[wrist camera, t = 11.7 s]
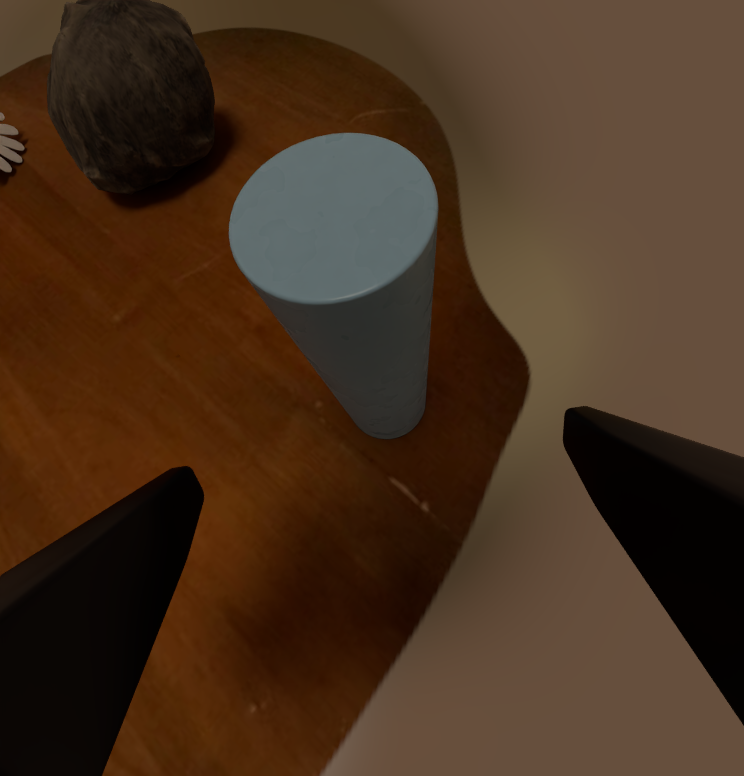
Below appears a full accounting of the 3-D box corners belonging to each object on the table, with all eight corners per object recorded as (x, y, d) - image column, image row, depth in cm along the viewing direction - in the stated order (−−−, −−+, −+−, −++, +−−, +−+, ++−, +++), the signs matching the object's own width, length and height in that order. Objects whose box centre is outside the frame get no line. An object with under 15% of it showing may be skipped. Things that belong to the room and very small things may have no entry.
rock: (67, 189, 28) (-73, 20, 19) (159, 112, 32) (80, -57, 23) (173, 233, 27) (76, 72, 18) (255, 147, 31) (211, -19, 22)
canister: (412, 449, 19) (399, 327, 6) (338, 426, 20) (191, 276, 7) (434, 376, 21) (463, 143, 7) (363, 357, 22) (276, 121, 8)
